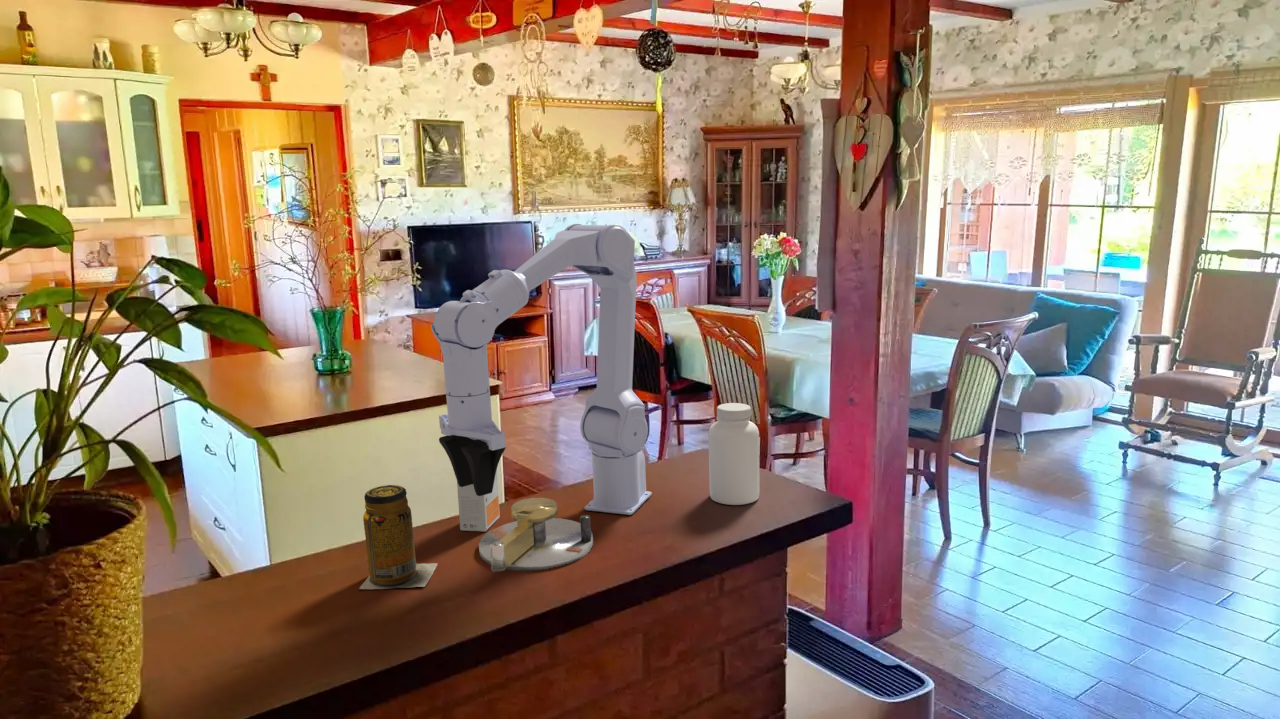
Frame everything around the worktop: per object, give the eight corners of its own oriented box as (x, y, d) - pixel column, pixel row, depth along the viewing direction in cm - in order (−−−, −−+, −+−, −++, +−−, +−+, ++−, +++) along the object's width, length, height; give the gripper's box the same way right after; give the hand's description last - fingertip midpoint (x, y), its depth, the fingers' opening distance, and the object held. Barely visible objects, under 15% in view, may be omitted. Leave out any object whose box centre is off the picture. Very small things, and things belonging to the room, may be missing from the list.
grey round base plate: (513, 519, 133) (512, 491, 132) (610, 530, 128) (609, 501, 127) (457, 562, 119) (454, 531, 118) (563, 577, 113) (561, 544, 112)
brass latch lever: (526, 526, 127) (524, 495, 126) (566, 531, 125) (564, 500, 124) (473, 568, 114) (470, 534, 113) (517, 574, 111) (514, 540, 110)
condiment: (376, 566, 119) (367, 482, 116) (438, 564, 119) (431, 480, 116) (358, 591, 112) (349, 502, 109) (424, 589, 111) (416, 500, 109)
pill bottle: (761, 490, 142) (761, 400, 139) (756, 508, 135) (756, 414, 132) (713, 487, 144) (711, 399, 141) (706, 505, 136) (704, 412, 133)
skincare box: (486, 532, 129) (481, 454, 126) (459, 531, 130) (453, 454, 127) (501, 517, 135) (496, 442, 132) (475, 515, 135) (469, 441, 133)
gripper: (415, 388, 118) (424, 483, 121) (467, 407, 107) (475, 511, 110) (462, 379, 123) (469, 471, 125) (516, 396, 112) (523, 497, 114)
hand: (475, 489), depth 118 cm, fingers open, 4 cm apart
